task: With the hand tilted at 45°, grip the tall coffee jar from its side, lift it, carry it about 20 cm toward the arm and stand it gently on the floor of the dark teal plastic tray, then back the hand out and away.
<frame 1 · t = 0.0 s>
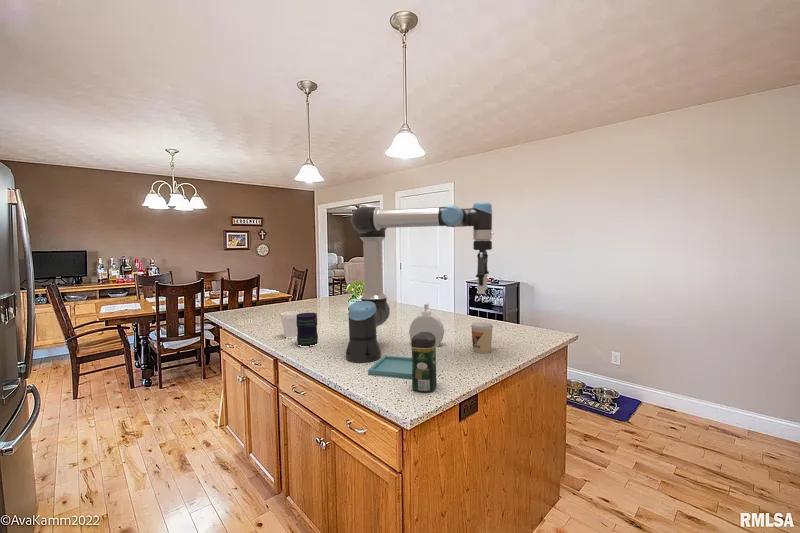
hand: (482, 291, 156), 28 cm above the worktop, tool pointing down, fingers open, 13 cm apart
storage jar: (307, 345, 181), on the worktop
coffee jar: (424, 387, 126), on the worktop
foam cup: (291, 338, 195), on the worktop
coffee cup: (481, 351, 166), on the worktop
tray: (398, 368, 145), on the worktop
soap bottle: (426, 345, 177), on the worktop
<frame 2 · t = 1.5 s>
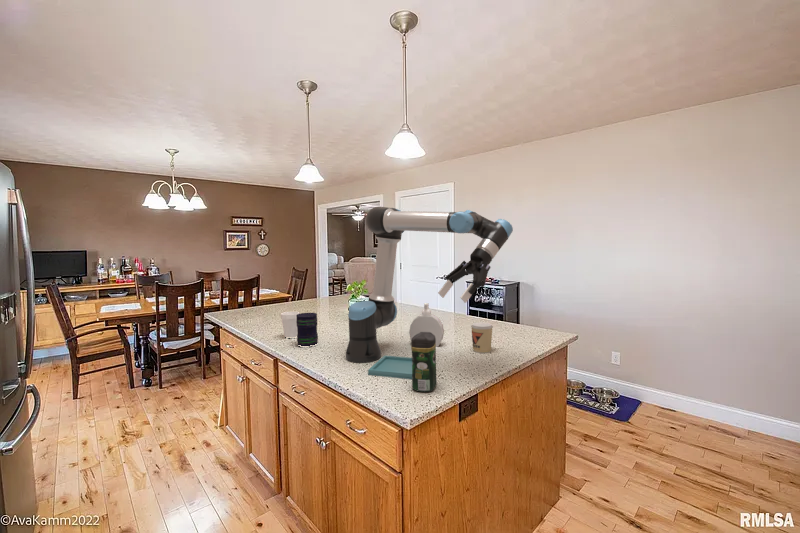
hand: (451, 297, 132), 29 cm above the worktop, tool tilted 45°, fingers open, 13 cm apart
nothing on the worktop moved.
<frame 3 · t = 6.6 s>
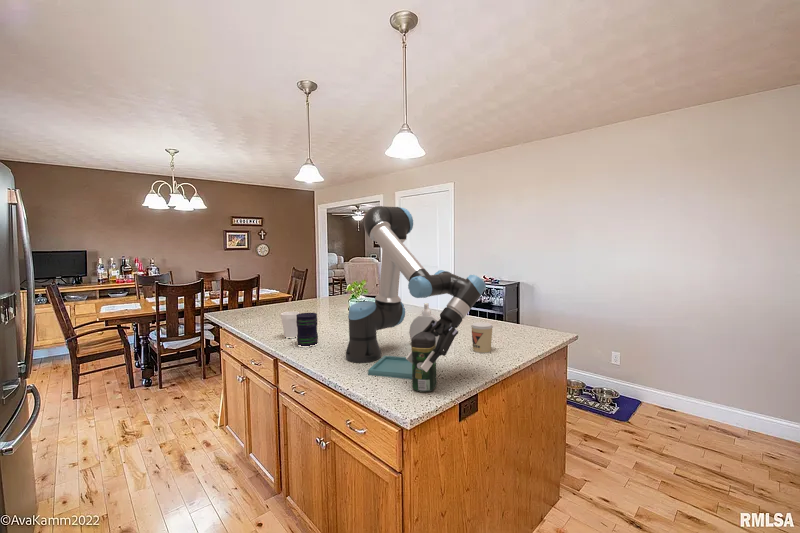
hand: (415, 365, 124), 8 cm above the worktop, tool tilted 45°, fingers closed on coffee jar, 9 cm apart
coffee jar: (424, 387, 126), on the worktop, touching gripper
everything else where it was.
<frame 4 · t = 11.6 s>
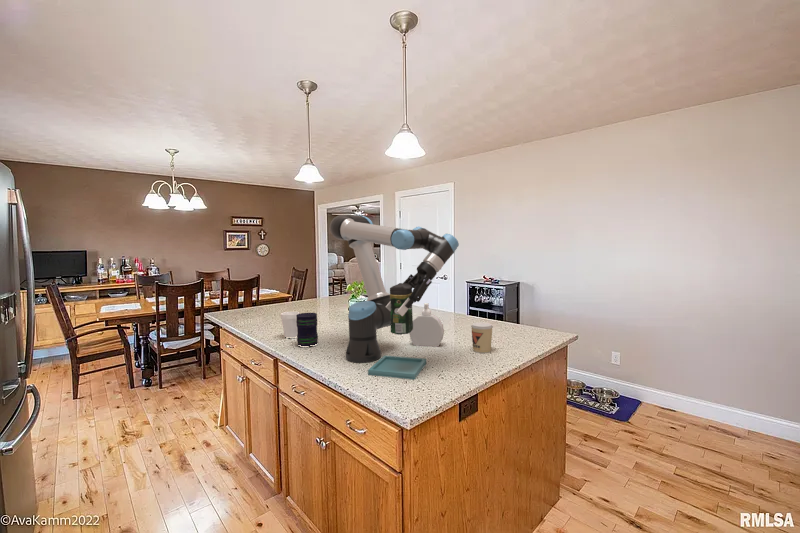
hand: (393, 311, 139), 23 cm above the worktop, tool tilted 45°, fingers closed on coffee jar, 9 cm apart
coffee jar: (401, 332, 141), point 15 cm above the worktop, touching gripper
everything else where it was.
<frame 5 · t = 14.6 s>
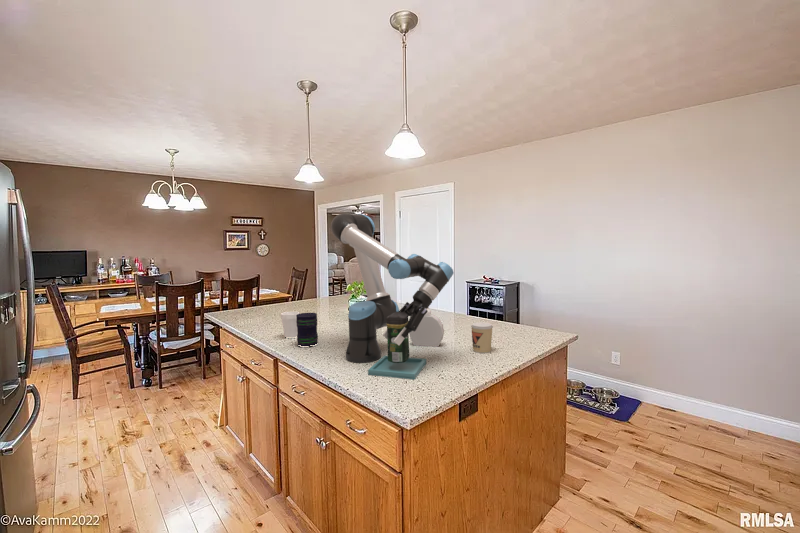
hand: (390, 340, 142), 12 cm above the worktop, tool tilted 45°, fingers closed on coffee jar, 9 cm apart
coffee jar: (398, 360, 144), point 3 cm above the worktop, touching gripper
everything else where it was.
when the fingers open (9 cm above the worktop, at t = 17.0 s): coffee jar stays where it is, resting on tray.
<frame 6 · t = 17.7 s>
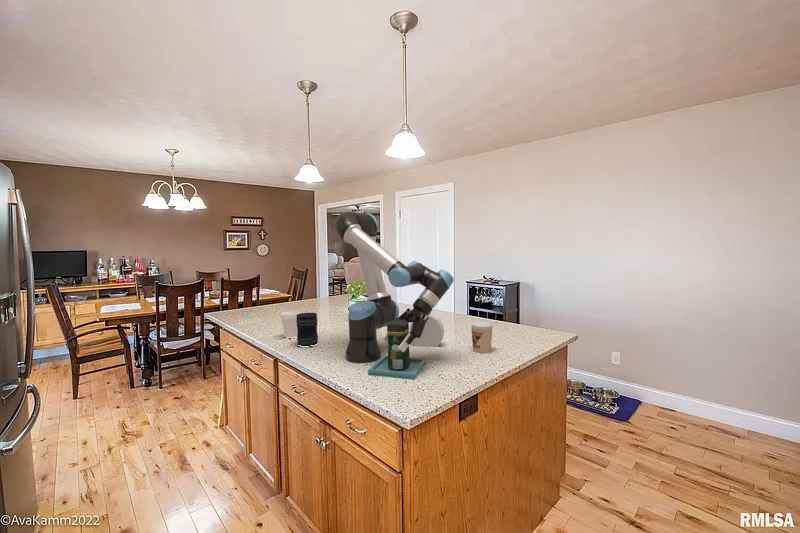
hand: (392, 345, 143), 10 cm above the worktop, tool tilted 45°, fingers open, 13 cm apart
coffee jar: (398, 367, 145), point 1 cm above the worktop, touching tray
everything else where it was.
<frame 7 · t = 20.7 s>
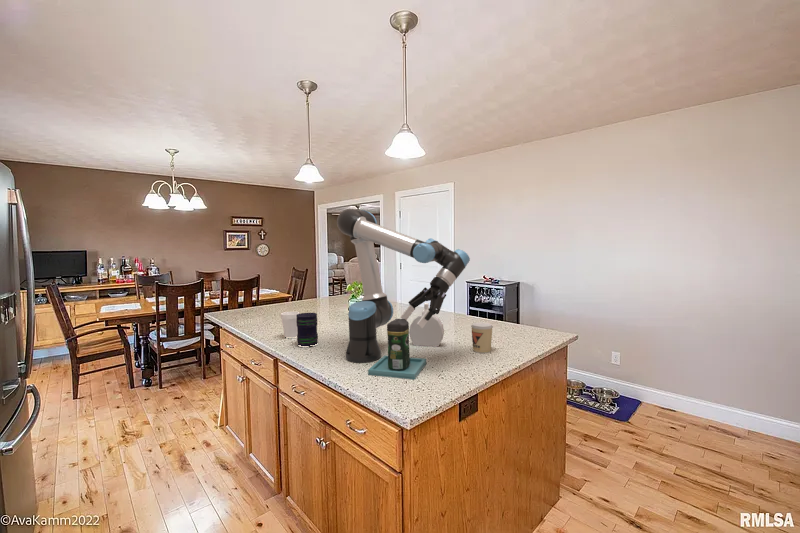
hand: (410, 322, 146), 18 cm above the worktop, tool tilted 45°, fingers open, 13 cm apart
nothing on the worktop moved.
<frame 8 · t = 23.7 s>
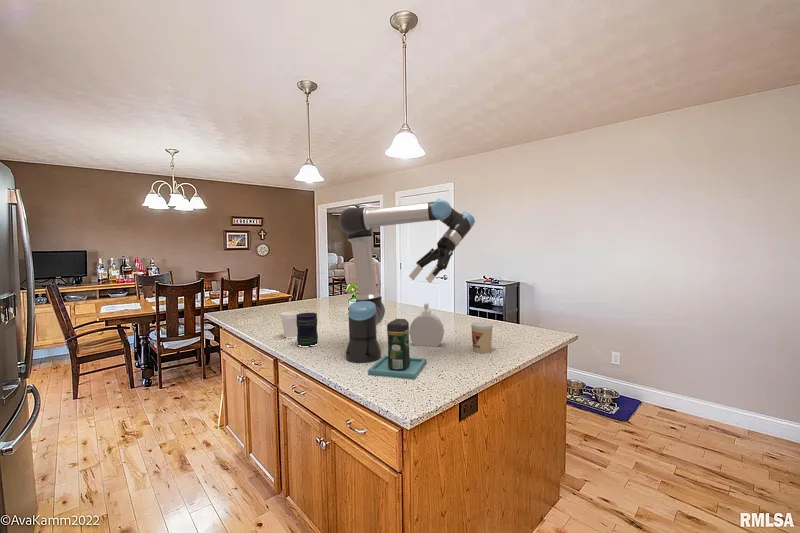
hand: (419, 279, 153), 34 cm above the worktop, tool tilted 45°, fingers open, 13 cm apart
nothing on the worktop moved.
at the end: coffee jar inside the target area on the tray (0.2 cm from its centre), point 0.6 cm above the tray's base; coffee jar tilted 0°; the gripper is holding nothing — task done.
